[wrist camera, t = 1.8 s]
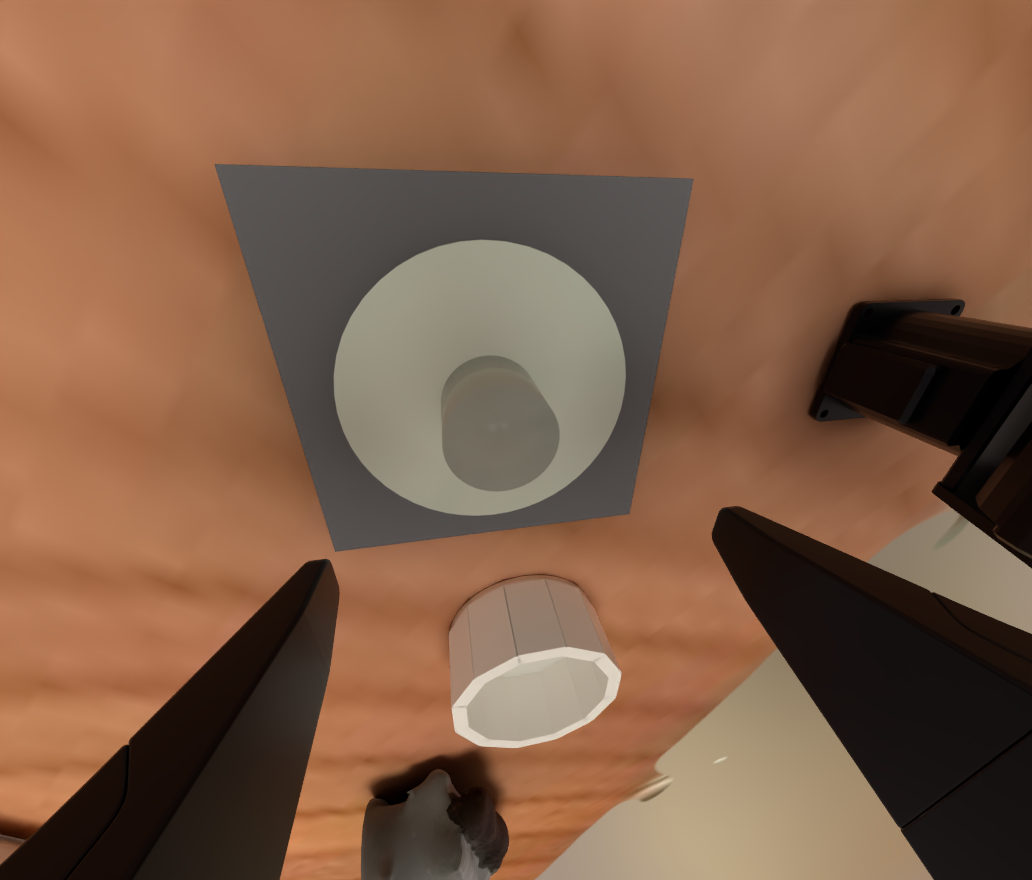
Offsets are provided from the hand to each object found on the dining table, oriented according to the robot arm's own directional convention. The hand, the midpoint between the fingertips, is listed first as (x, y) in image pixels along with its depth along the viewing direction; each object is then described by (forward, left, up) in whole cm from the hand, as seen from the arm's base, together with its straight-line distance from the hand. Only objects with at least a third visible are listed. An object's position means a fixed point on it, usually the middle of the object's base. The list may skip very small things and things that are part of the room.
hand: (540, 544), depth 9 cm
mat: (0, 0, -10) cm, 10 cm away
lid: (0, 0, -9) cm, 9 cm away
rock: (+6, +42, -11) cm, 44 cm away
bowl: (-2, +18, -10) cm, 21 cm away
